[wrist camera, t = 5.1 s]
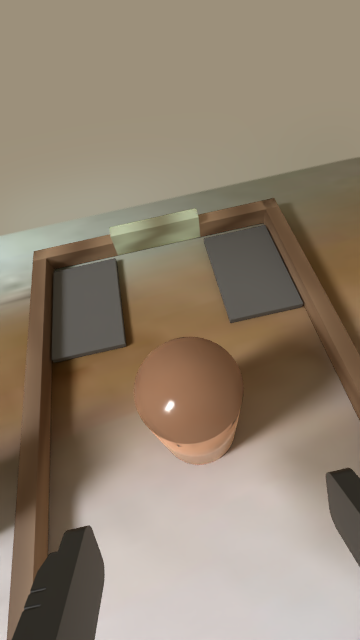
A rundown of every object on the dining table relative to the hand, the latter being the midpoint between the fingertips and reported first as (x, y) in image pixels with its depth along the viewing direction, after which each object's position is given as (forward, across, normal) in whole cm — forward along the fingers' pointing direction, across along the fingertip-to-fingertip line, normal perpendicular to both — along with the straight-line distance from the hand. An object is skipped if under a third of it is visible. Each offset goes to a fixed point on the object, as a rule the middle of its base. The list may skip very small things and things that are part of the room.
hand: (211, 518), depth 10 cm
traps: (+18, 0, -5) cm, 19 cm away
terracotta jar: (+10, 0, +3) cm, 11 cm away
